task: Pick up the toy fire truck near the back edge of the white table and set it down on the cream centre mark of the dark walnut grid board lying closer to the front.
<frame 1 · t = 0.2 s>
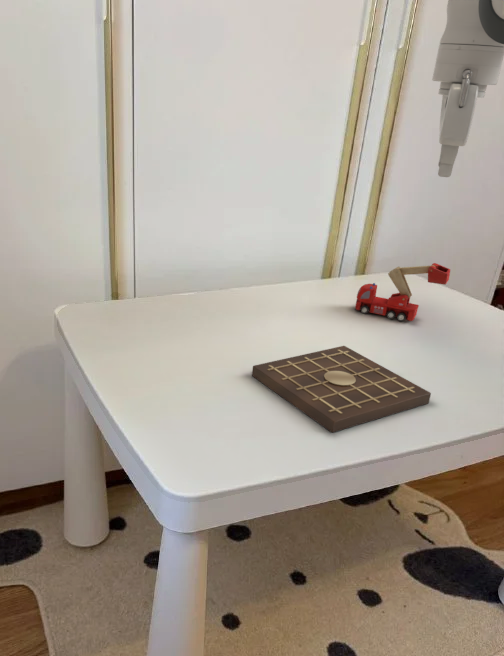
hand: (443, 171, 96), 23 cm above the table, tool pointing down, fingers open, 8 cm apart
toy fire truck: (394, 318, 106), on the table
board: (337, 389, 81), on the table
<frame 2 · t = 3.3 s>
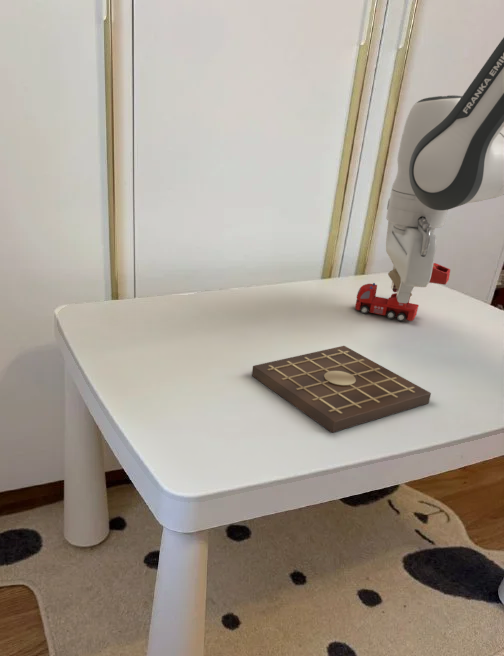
hand: (399, 296, 104), 4 cm above the table, tool pointing down, fingers closed on toy fire truck, 4 cm apart
toy fire truck: (394, 318, 106), on the table, touching gripper
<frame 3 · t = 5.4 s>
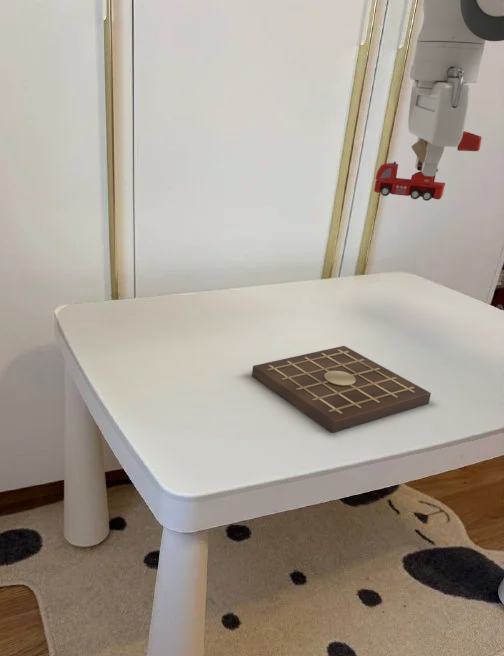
hand: (424, 172, 94), 23 cm above the table, tool pointing down, fingers closed on toy fire truck, 4 cm apart
toy fire truck: (418, 199, 95), point 19 cm above the table, touching gripper
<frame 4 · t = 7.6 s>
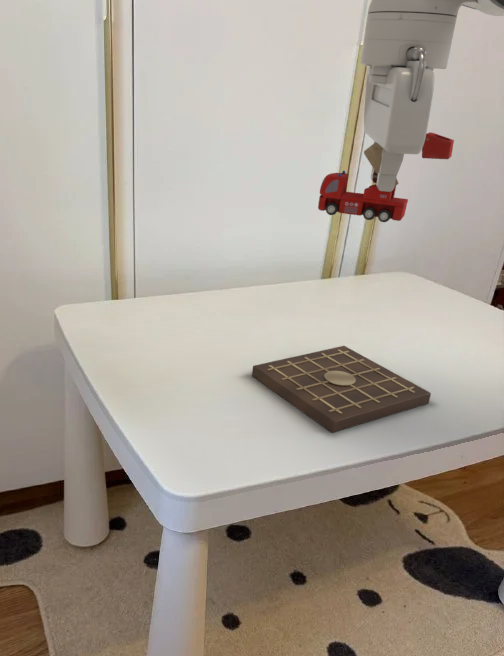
hand: (381, 186, 72), 25 cm above the table, tool pointing down, fingers closed on toy fire truck, 4 cm apart
toy fire truck: (374, 220, 74), point 21 cm above the table, touching gripper
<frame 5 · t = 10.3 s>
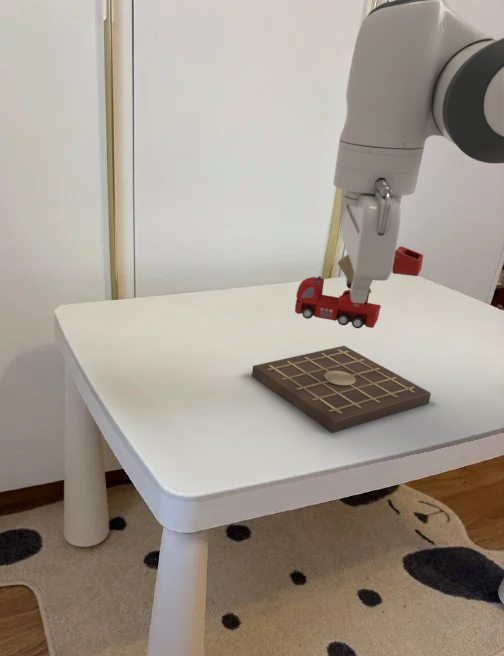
hand: (354, 293, 75), 13 cm above the table, tool pointing down, fingers closed on toy fire truck, 4 cm apart
toy fire truck: (348, 323, 77), point 9 cm above the table, touching gripper
when the fingers open (5 cm above the table, at t = 12.4 s): toy fire truck stays where it is, resting on board.
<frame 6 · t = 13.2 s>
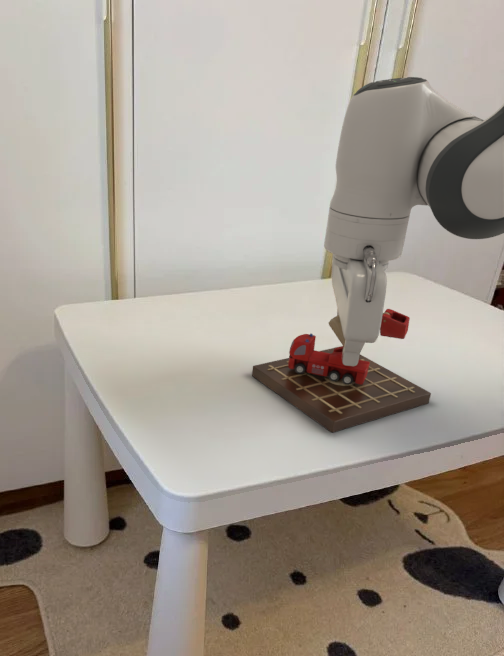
hand: (345, 347, 79), 6 cm above the table, tool pointing down, fingers open, 8 cm apart
toy fire truck: (339, 379, 81), point 1 cm above the table, touching board
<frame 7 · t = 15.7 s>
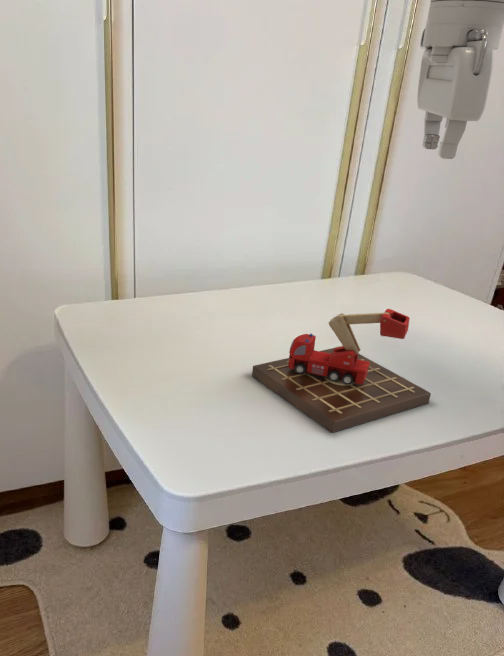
hand: (437, 153, 83), 27 cm above the table, tool pointing down, fingers open, 8 cm apart
nothing on the table moved.
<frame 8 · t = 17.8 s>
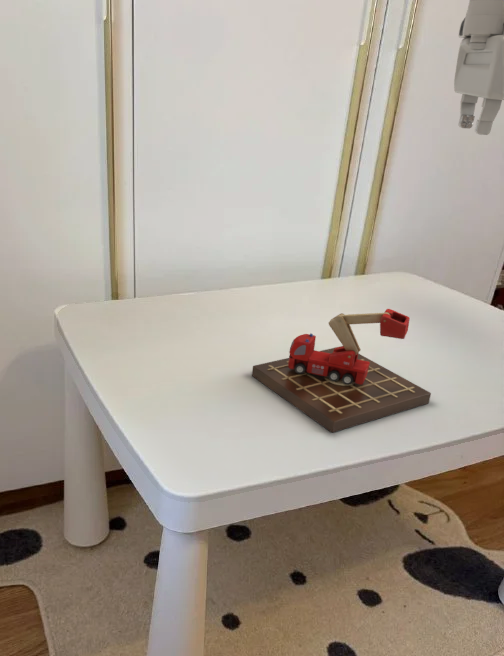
hand: (472, 131, 93), 29 cm above the table, tool pointing down, fingers open, 8 cm apart
nothing on the table moved.
at the end: toy fire truck 0.1 cm off-centre on the board, point 1.5 cm above the board's base; toy fire truck tilted 0° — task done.
